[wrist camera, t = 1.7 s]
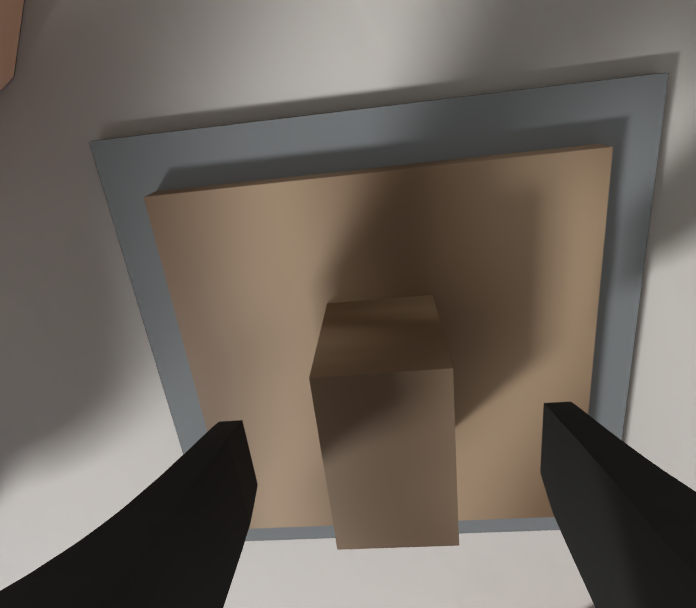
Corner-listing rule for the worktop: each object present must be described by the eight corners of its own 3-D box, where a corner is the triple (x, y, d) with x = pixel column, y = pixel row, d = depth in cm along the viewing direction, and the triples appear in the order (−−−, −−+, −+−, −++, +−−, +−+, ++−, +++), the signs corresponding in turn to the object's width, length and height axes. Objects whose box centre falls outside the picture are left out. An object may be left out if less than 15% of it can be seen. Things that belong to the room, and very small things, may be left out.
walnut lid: (239, 512, 18) (196, 643, 14) (155, 191, 14) (52, 237, 9) (570, 498, 17) (635, 635, 13) (599, 143, 13) (717, 170, 8)
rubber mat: (213, 531, 20) (210, 542, 19) (98, 140, 14) (89, 141, 13) (604, 516, 18) (610, 527, 18) (658, 73, 12) (668, 72, 12)
